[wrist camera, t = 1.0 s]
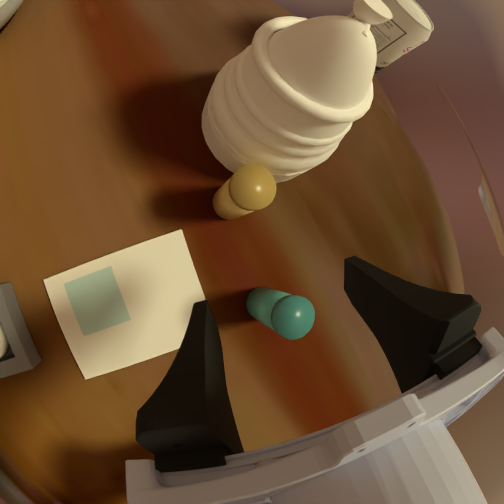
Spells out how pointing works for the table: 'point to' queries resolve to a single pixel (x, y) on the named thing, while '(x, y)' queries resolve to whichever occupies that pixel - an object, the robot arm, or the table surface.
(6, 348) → the button
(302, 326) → the teal marker
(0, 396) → the table surface
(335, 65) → the honey pot
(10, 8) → the serving bowl
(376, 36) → the supplement can
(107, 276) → the paper sheet
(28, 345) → the button box
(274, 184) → the ball
